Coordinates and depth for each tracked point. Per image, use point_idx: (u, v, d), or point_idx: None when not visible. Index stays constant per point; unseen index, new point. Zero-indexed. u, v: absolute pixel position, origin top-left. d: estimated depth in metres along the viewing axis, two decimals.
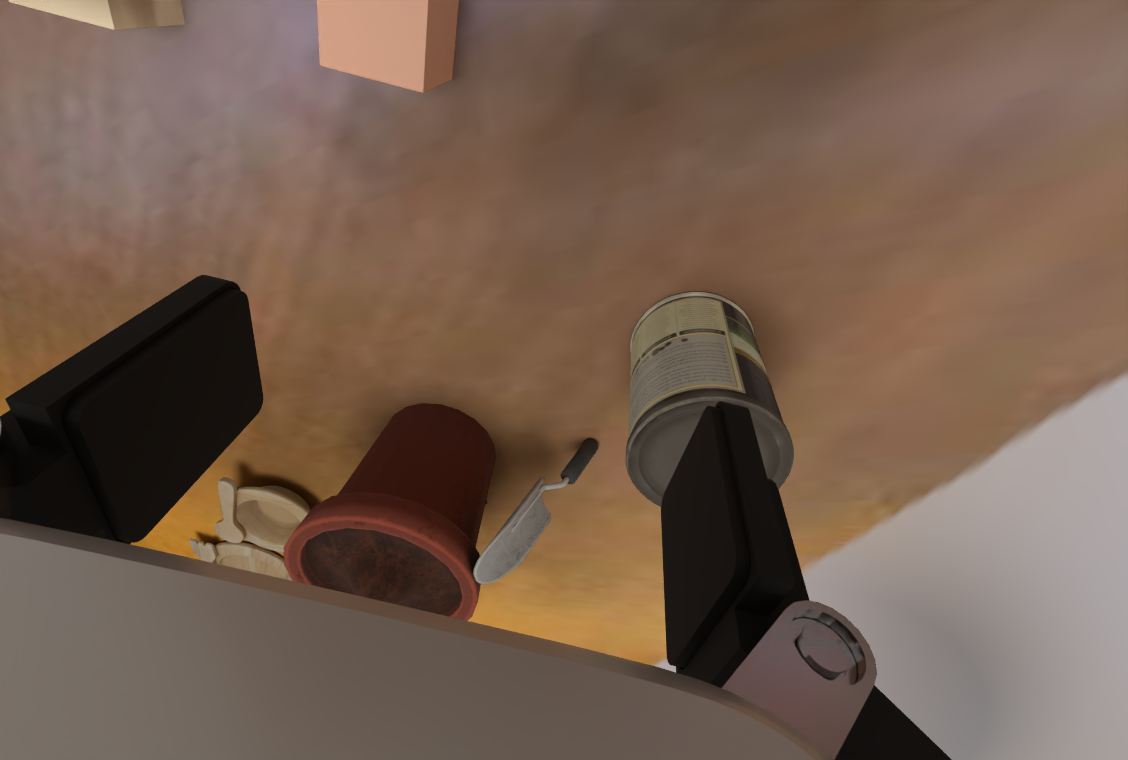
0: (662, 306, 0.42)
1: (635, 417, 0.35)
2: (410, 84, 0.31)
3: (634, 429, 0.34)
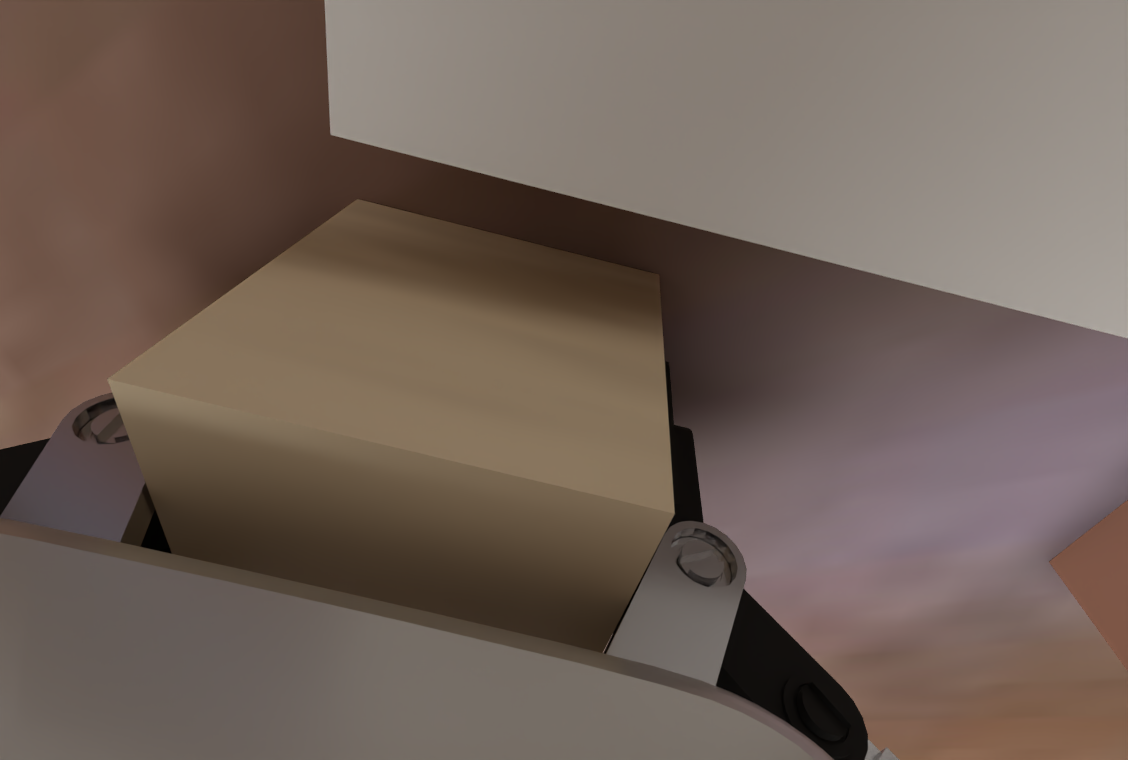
0: None
1: None
2: None
3: None
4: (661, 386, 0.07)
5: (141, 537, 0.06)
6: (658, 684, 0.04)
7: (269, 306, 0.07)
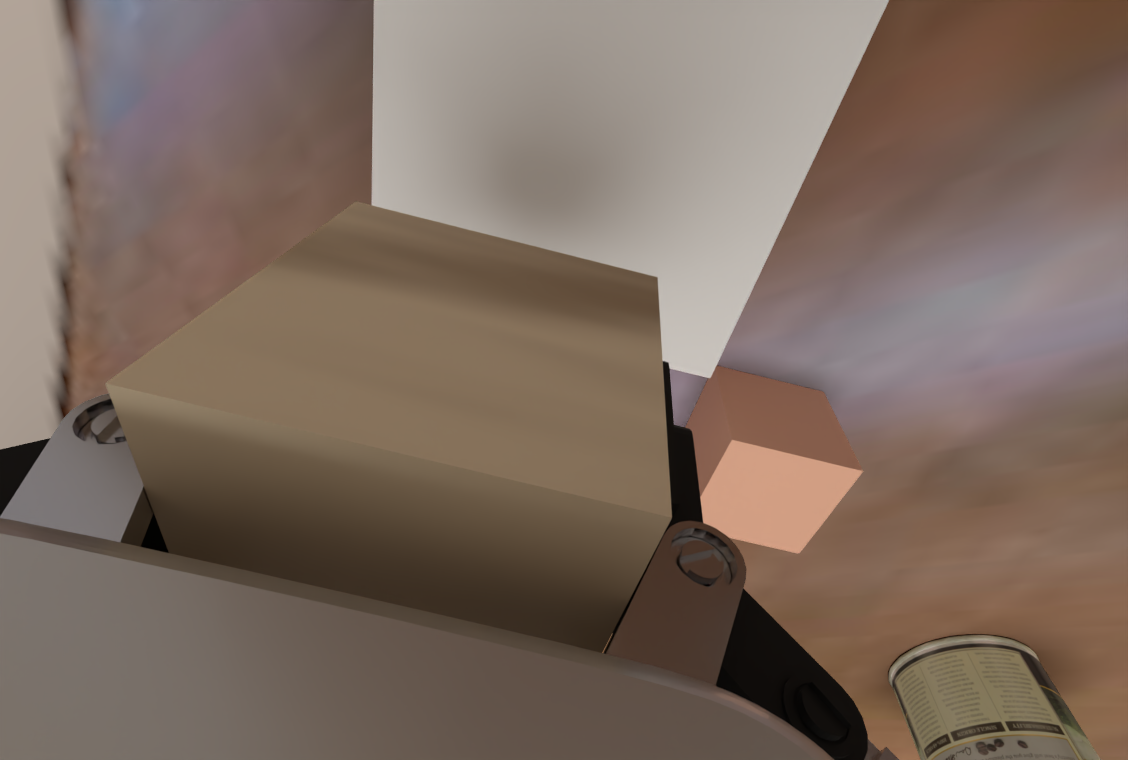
0: (949, 651, 0.39)
1: None
2: (787, 547, 0.27)
3: None
4: (659, 389, 0.08)
5: (141, 537, 0.06)
6: (658, 684, 0.04)
7: (267, 309, 0.07)
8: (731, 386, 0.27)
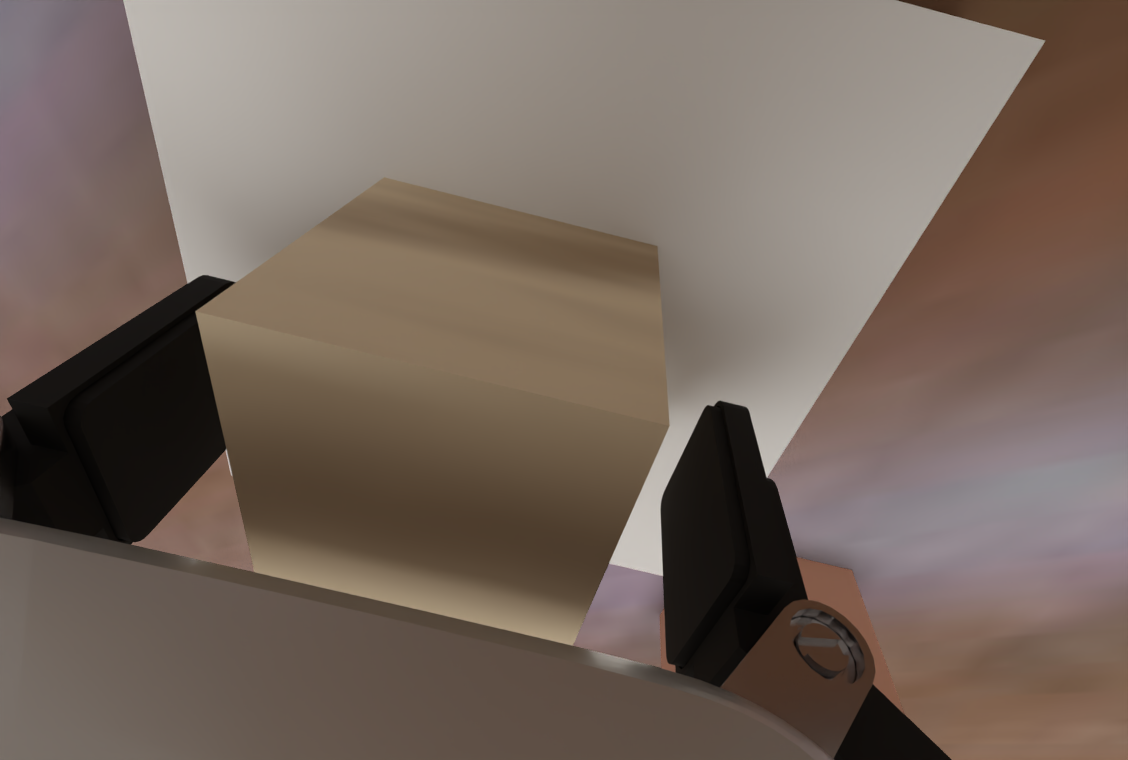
0: None
1: None
2: None
3: None
4: (658, 333, 0.09)
5: None
6: (658, 684, 0.04)
7: (318, 261, 0.08)
8: None
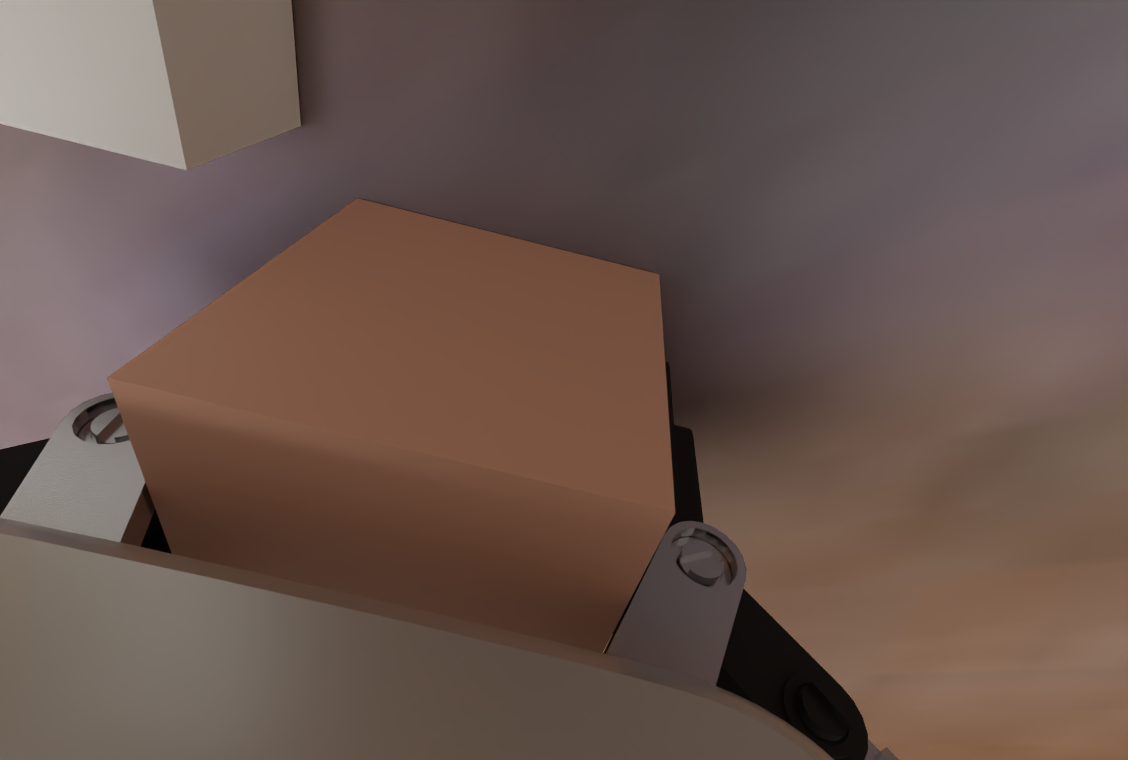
0: None
1: None
2: None
3: None
4: None
5: (141, 537, 0.06)
6: (658, 684, 0.04)
7: None
8: (351, 239, 0.09)
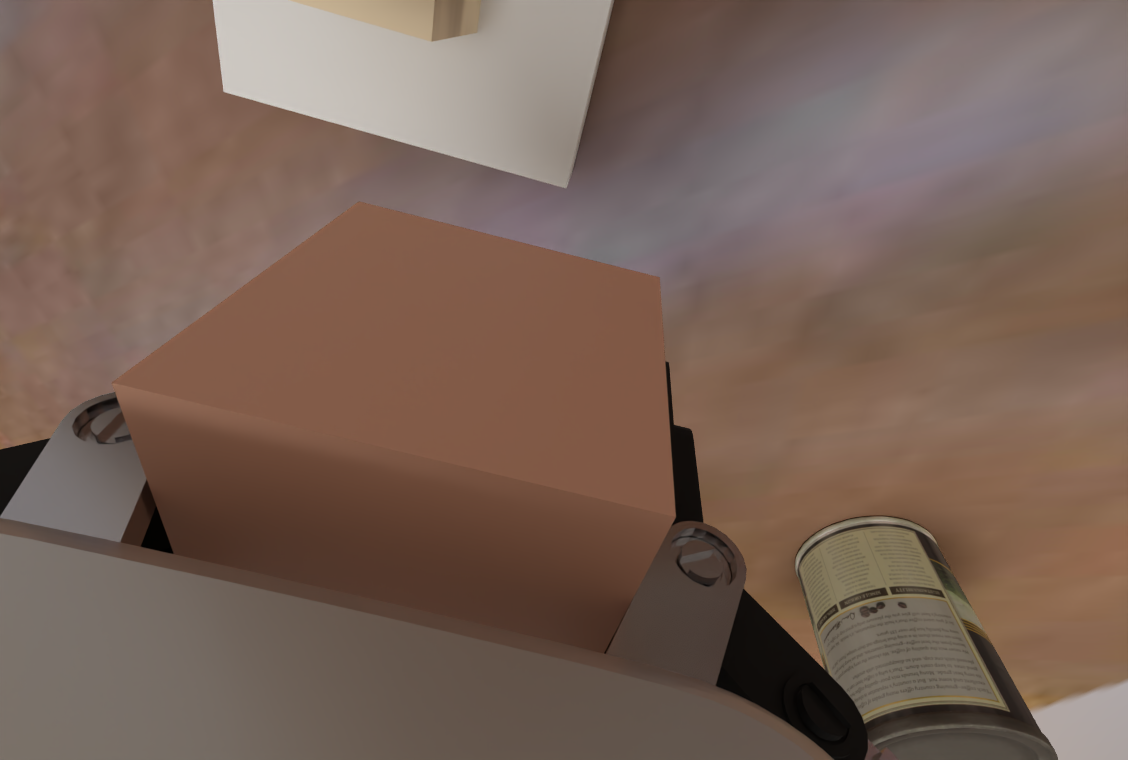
0: (846, 532, 0.39)
1: (862, 709, 0.31)
2: None
3: (872, 735, 0.30)
4: None
5: (141, 537, 0.06)
6: (658, 684, 0.04)
7: None
8: (352, 243, 0.09)
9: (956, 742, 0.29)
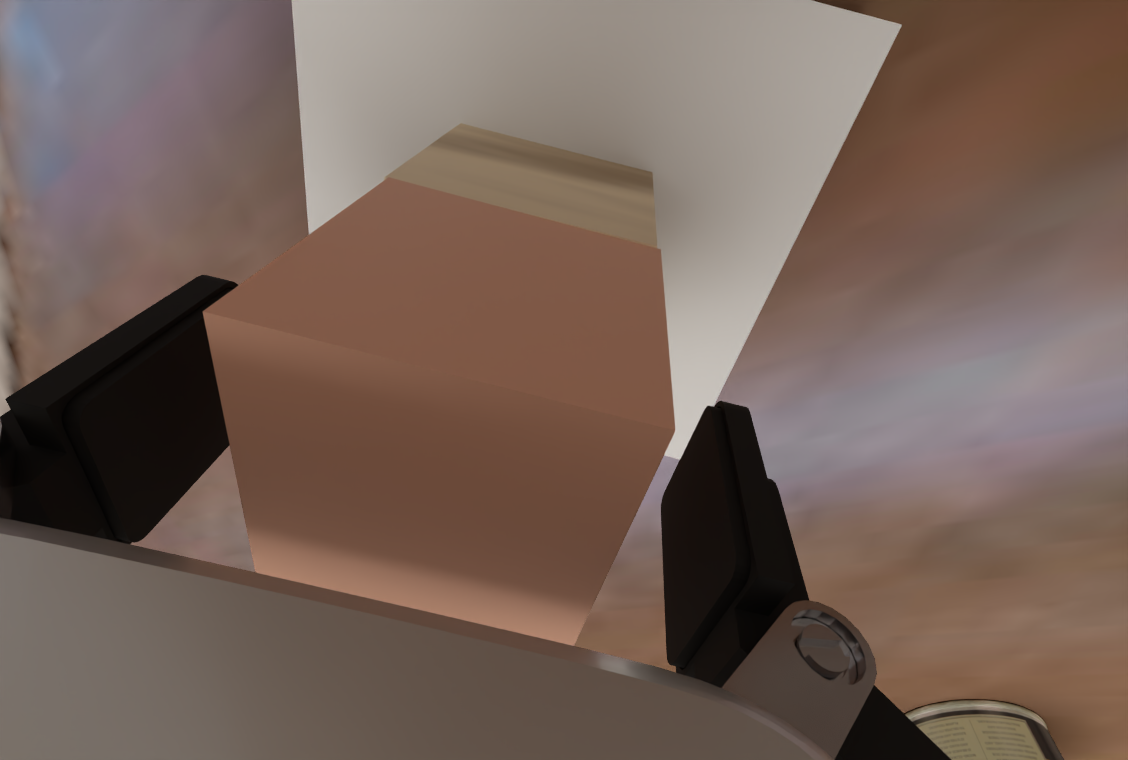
0: (950, 717, 0.37)
1: None
2: None
3: None
4: (652, 211, 0.13)
5: None
6: (658, 684, 0.04)
7: (439, 162, 0.13)
8: (387, 211, 0.10)
9: None
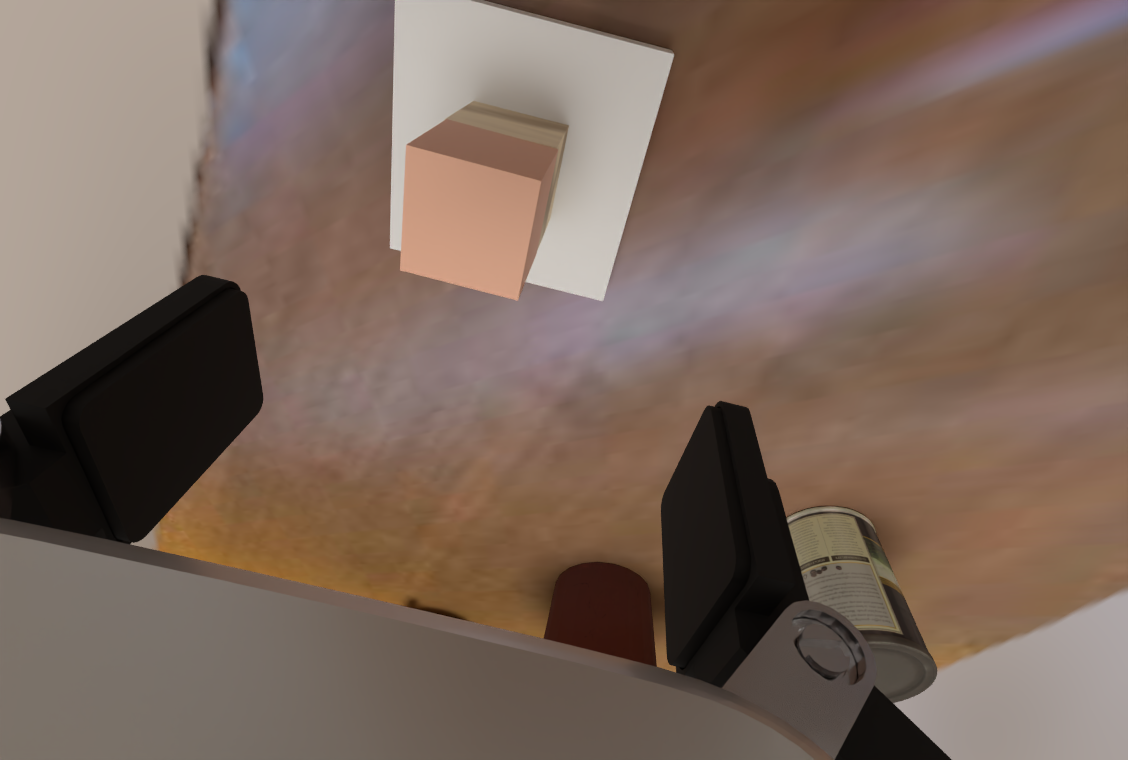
0: (805, 518, 0.53)
1: None
2: (504, 292, 0.27)
3: None
4: (560, 138, 0.30)
5: None
6: (658, 684, 0.04)
7: (465, 115, 0.30)
8: (449, 128, 0.27)
9: None
